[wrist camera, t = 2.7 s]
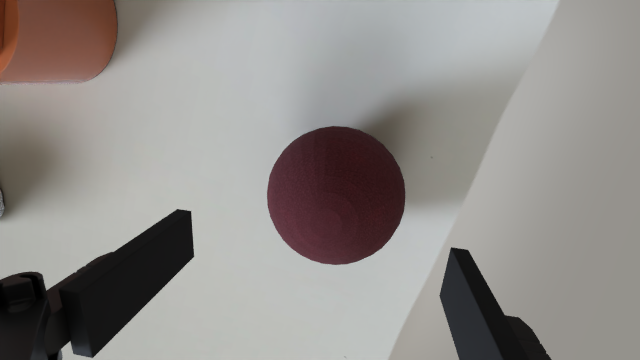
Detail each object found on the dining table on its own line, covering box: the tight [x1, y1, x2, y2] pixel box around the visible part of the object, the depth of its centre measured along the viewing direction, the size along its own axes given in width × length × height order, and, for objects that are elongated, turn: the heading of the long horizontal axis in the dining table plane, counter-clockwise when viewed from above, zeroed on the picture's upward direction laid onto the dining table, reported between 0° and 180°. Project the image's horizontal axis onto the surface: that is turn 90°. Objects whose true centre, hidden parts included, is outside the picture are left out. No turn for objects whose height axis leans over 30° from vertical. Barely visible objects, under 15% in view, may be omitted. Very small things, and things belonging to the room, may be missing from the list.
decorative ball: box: [267, 126, 405, 265], centre depth 23 cm, size 10×10×10 cm
